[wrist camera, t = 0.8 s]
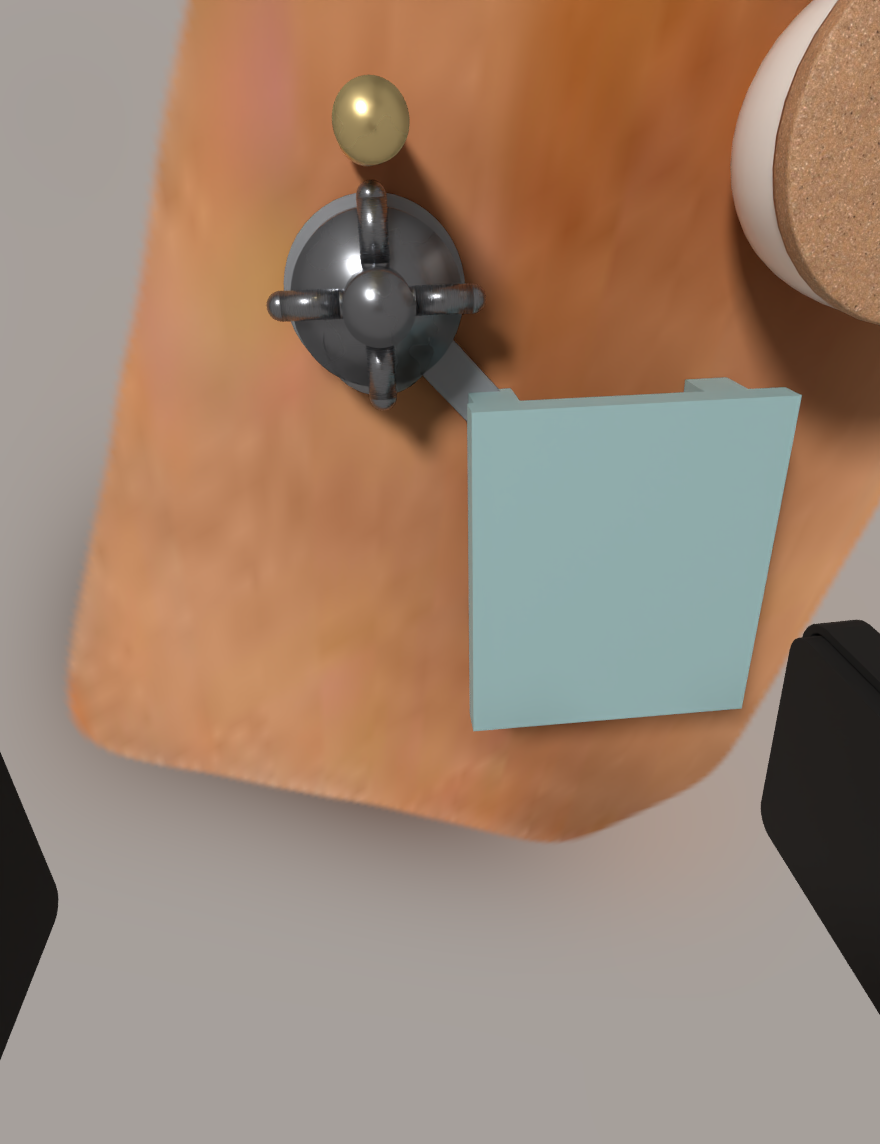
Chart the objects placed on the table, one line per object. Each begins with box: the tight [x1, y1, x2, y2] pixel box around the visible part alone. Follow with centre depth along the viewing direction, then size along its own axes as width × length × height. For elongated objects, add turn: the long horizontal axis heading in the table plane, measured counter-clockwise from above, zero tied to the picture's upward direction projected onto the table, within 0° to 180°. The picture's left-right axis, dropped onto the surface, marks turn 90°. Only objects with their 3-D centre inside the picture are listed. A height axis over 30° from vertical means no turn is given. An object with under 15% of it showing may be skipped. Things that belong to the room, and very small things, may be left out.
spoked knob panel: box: [284, 193, 802, 731], centre depth 31 cm, size 22×18×5 cm
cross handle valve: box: [267, 75, 486, 411], centre depth 25 cm, size 10×8×7 cm
